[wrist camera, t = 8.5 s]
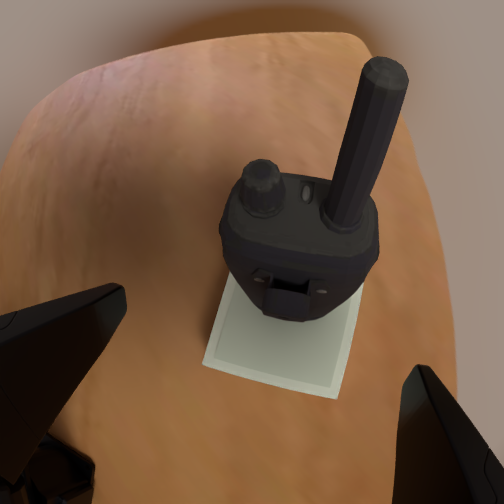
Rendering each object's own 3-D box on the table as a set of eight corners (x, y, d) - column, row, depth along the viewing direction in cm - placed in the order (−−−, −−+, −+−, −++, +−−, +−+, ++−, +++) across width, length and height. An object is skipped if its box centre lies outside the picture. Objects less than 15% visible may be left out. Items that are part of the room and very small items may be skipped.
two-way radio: (342, 272, 18) (462, 49, 4) (330, 347, 16) (525, 282, 2) (251, 256, 19) (179, 12, 5) (234, 329, 17) (56, 200, 3)
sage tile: (213, 364, 20) (201, 364, 17) (252, 229, 23) (248, 209, 20) (329, 393, 18) (337, 399, 15) (359, 254, 21) (370, 237, 18)
